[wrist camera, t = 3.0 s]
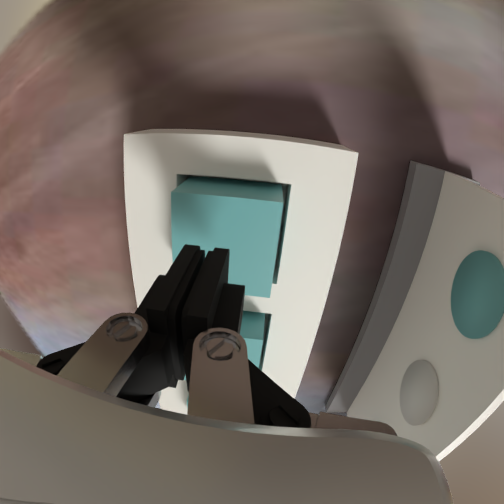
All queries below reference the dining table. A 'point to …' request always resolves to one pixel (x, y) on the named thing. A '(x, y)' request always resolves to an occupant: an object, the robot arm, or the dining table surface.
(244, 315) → the button
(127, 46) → the dining table surface
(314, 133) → the dining table surface
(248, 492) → the robot arm
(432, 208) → the pattern sign
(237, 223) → the button
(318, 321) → the button board
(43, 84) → the dining table surface
